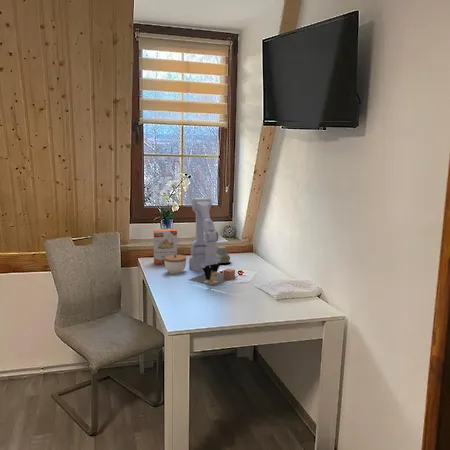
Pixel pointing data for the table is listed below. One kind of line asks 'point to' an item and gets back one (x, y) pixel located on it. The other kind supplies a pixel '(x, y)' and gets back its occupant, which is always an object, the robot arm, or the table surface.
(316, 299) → the table surface
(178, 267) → the lidded bowl
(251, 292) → the table surface
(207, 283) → the plate
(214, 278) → the maple block
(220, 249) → the air freshener
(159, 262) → the cracker box
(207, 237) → the robot arm
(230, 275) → the terracotta block
